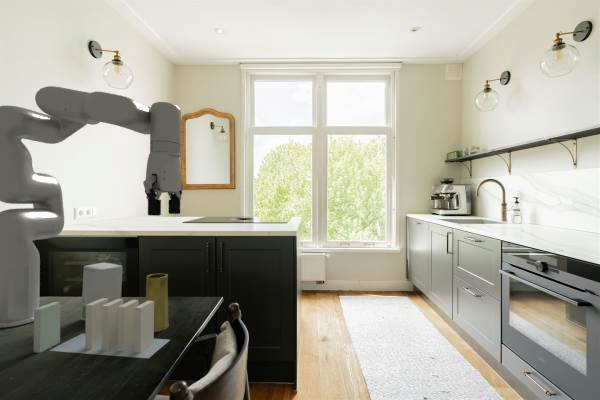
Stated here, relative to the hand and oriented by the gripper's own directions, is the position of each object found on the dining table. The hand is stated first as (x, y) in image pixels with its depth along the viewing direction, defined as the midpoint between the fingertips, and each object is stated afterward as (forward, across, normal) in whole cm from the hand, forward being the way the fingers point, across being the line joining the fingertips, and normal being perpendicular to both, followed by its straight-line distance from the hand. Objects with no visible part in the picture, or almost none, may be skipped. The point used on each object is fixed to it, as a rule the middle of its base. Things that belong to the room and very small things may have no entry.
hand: (164, 214), depth 83 cm
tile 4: (+30, +11, -3) cm, 32 cm away
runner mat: (+31, +11, -7) cm, 33 cm away
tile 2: (+30, +11, -11) cm, 34 cm away
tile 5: (+30, +11, +1) cm, 32 cm away
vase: (+31, 0, -2) cm, 31 cm away
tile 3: (+30, +11, -7) cm, 33 cm away
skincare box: (+31, -4, -22) cm, 38 cm away
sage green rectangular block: (+31, +14, -21) cm, 39 cm away
